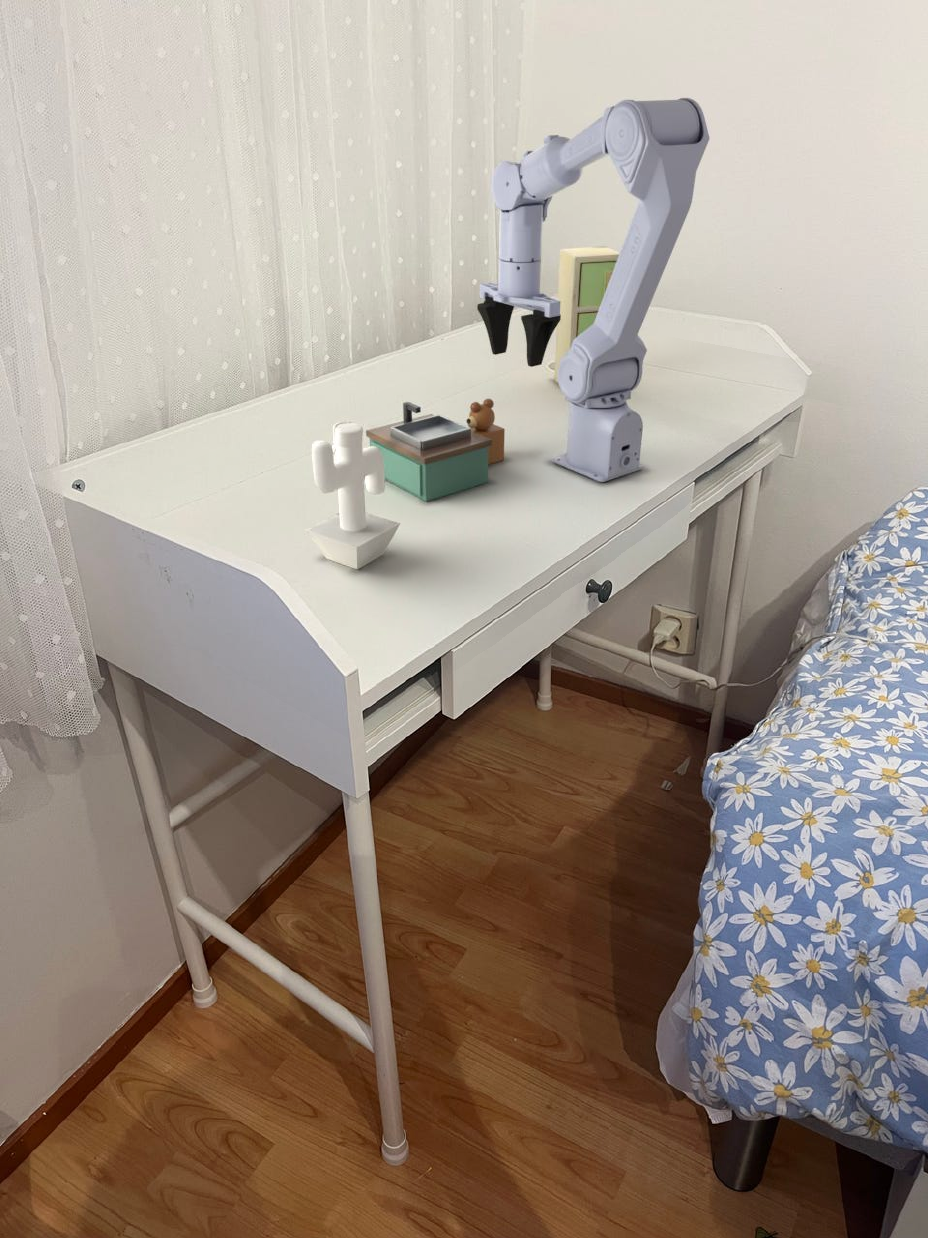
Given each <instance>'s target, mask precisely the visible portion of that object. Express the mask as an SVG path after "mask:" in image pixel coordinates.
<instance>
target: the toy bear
mask: <svg viewBox="0 0 928 1238" xmlns="http://www.w3.org/2000/svg"><path fill="white" fill-rule="evenodd" d="M494 405H495V403H494V401H493V399H491V398H485V399H484V400H483V402H482V403H480V402H478V401H473V402H472V403H470V406H469V409H470V412H469V414H468V418H467V419H466V421H465V423H466V424H467V426H468V427H470V428H471V431H473V432H475V433H478V434H480V435H482V436H485V437H487V438H489V439H492V446H489V453H488V465H491V464H495V463H499V462H501V461H504V460H505V434H506V433H505V431H506V429H505V428H504V427H502V426H499V425H496V424H494V423H495V421H496V420H495V418H496V416H495V411H494V409H493V408H494Z"/></svg>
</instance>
